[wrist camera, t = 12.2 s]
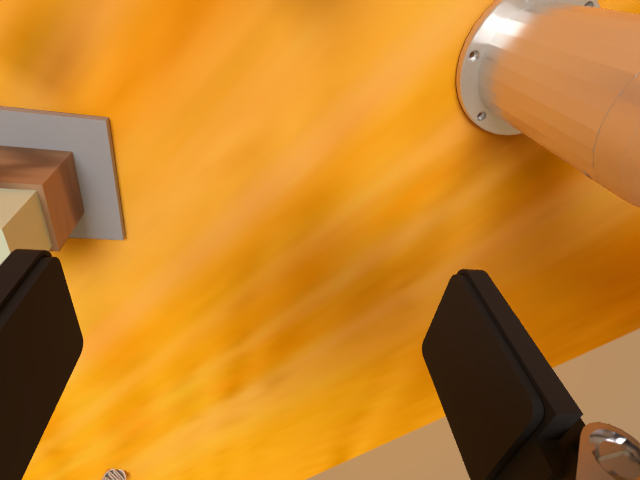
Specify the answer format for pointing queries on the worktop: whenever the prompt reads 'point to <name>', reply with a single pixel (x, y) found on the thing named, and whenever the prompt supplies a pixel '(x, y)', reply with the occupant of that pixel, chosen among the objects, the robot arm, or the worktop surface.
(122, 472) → the paper tube
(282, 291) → the worktop surface
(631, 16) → the robot arm
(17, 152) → the walnut block
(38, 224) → the cream cube
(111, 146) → the build pad
